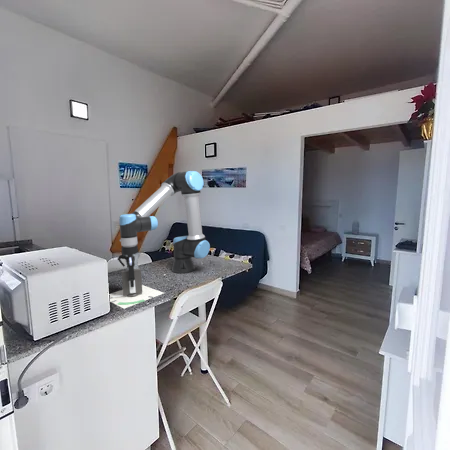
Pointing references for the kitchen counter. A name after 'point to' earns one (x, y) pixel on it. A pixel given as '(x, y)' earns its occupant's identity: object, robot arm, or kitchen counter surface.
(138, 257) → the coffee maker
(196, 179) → the robot arm
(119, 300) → the board
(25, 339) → the kitchen counter surface
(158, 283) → the kitchen counter surface
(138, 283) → the grey piece
